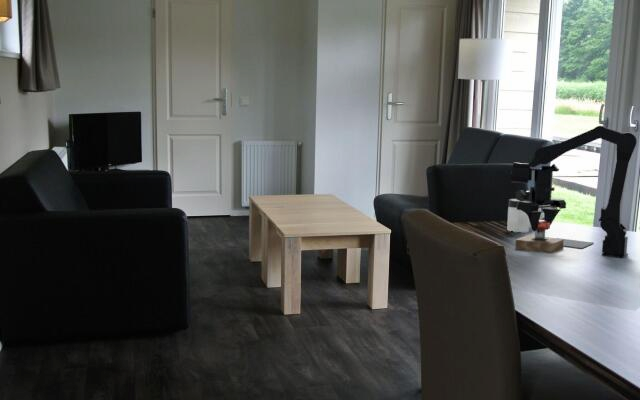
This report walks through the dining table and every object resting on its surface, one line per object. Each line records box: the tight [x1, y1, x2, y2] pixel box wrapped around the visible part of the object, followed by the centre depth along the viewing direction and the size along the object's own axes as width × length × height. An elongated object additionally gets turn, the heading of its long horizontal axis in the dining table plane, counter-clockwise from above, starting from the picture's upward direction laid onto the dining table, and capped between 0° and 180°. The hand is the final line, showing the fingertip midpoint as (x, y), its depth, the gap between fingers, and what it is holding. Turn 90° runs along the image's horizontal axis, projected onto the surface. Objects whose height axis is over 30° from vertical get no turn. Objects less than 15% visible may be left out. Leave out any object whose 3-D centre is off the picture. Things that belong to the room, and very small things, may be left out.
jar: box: [506, 198, 530, 233], centre depth 267 cm, size 9×8×12 cm
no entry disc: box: [534, 220, 551, 241], centre depth 233 cm, size 6×6×8 cm
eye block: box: [514, 234, 565, 254], centre depth 233 cm, size 12×12×3 cm
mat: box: [557, 237, 594, 250], centre depth 242 cm, size 13×13×1 cm
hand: (540, 230), depth 232 cm, fingers closed on no entry disc, 6 cm apart
